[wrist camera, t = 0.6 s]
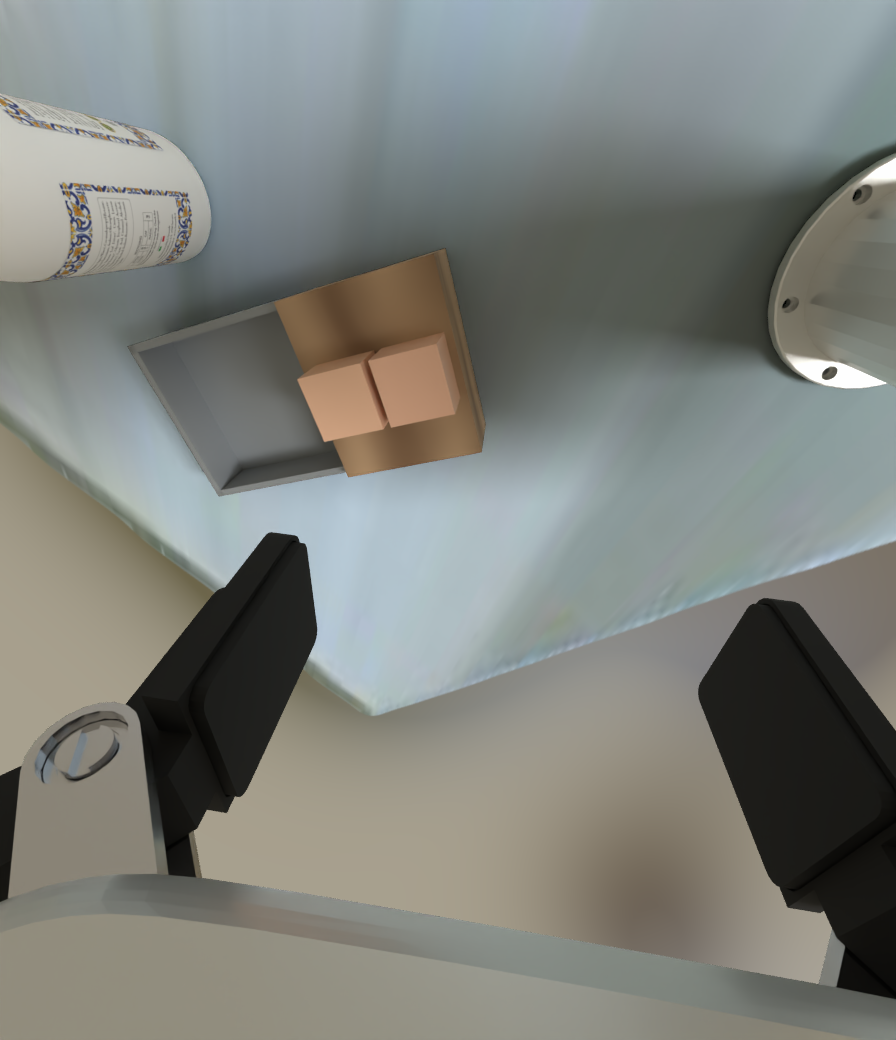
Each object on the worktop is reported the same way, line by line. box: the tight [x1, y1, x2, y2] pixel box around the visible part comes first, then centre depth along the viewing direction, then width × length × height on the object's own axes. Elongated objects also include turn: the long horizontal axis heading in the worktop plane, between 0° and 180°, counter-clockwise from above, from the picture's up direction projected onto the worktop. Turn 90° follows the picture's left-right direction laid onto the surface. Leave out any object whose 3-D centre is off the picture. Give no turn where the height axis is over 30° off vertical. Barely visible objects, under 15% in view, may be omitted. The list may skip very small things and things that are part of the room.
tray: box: [128, 293, 346, 496], centre depth 34 cm, size 12×12×4 cm
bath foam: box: [0, 94, 211, 282], centre depth 21 cm, size 7×7×20 cm
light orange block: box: [297, 350, 389, 442], centre depth 28 cm, size 4×4×3 cm
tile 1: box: [368, 332, 460, 428], centre depth 27 cm, size 4×4×3 cm
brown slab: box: [274, 248, 486, 477], centre depth 31 cm, size 10×12×5 cm
